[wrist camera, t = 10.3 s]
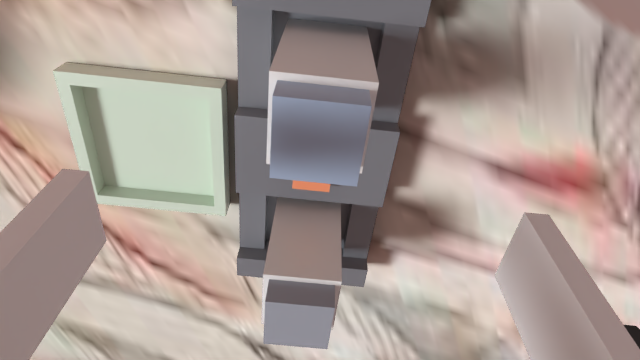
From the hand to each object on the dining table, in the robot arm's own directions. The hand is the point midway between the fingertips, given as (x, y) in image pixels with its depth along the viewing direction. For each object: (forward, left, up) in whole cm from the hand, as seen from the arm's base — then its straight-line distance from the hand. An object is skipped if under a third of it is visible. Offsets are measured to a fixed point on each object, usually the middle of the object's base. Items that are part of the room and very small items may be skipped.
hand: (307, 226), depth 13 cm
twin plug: (0, -12, -15) cm, 19 cm away
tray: (-11, -7, -15) cm, 20 cm away
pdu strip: (0, -8, -15) cm, 17 cm away
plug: (0, 0, -15) cm, 15 cm away
